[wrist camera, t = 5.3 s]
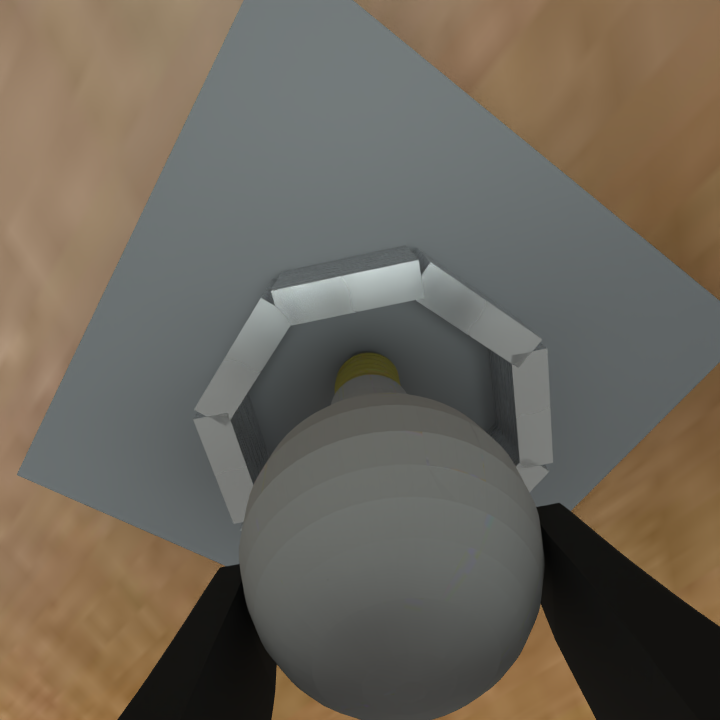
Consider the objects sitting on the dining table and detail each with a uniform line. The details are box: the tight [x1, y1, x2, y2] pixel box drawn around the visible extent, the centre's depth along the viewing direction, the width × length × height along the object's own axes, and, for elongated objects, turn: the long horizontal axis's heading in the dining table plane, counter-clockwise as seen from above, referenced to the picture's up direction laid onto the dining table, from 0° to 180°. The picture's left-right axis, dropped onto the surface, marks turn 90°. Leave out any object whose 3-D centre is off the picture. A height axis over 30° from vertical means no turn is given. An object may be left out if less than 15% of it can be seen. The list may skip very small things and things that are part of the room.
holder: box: [17, 0, 720, 566], centre depth 15 cm, size 18×18×3 cm
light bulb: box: [239, 353, 545, 720], centre depth 11 cm, size 5×5×10 cm
